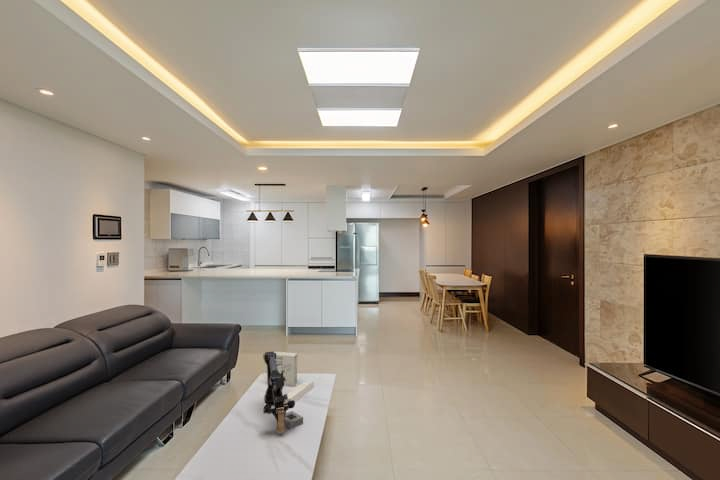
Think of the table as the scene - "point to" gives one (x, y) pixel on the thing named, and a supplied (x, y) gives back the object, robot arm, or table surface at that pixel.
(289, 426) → the grey block with slot
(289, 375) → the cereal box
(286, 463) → the table surface
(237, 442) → the table surface
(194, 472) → the table surface
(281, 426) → the brown wooden block
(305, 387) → the decorative molding
